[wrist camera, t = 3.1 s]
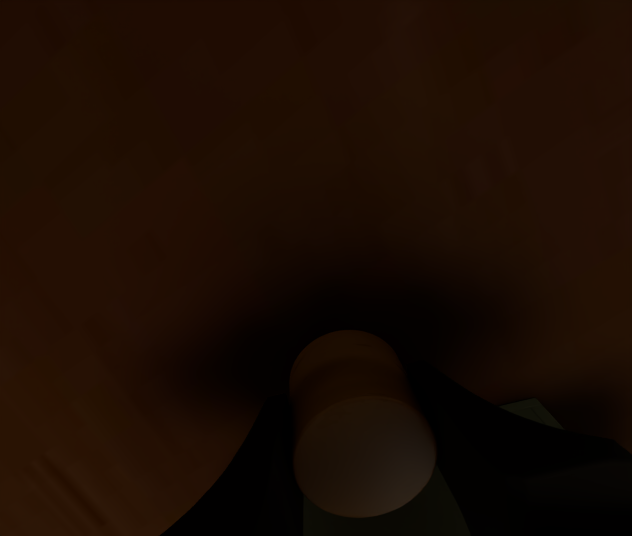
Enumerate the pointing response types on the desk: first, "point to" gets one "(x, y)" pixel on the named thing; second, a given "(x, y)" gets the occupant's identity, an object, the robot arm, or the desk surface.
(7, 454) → the desk surface
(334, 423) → the peg
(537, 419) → the box
